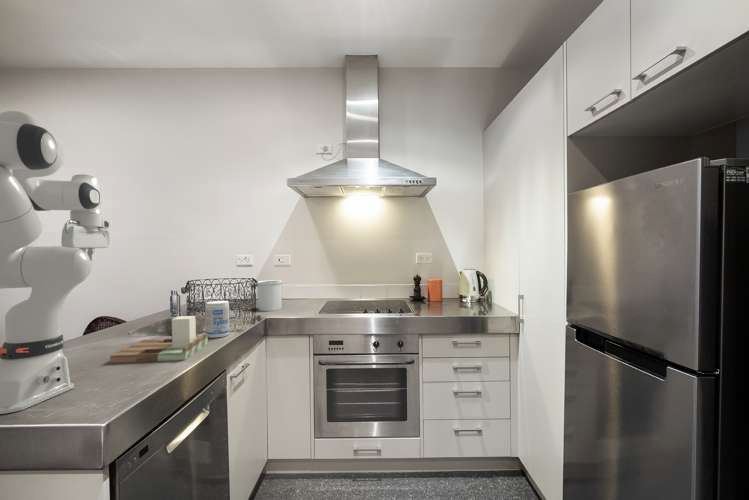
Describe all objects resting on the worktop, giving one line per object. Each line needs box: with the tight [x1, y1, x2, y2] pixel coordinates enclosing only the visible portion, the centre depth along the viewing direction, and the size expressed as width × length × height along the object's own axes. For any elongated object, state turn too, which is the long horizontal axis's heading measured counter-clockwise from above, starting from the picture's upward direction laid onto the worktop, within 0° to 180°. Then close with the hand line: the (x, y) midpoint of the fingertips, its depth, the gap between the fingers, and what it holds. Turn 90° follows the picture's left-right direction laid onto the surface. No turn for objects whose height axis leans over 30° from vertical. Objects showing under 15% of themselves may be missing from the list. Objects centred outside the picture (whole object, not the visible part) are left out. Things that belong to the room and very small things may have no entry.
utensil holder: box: [256, 279, 283, 312], centre depth 229 cm, size 15×15×18 cm
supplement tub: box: [204, 300, 230, 339], centre depth 161 cm, size 10×10×15 cm
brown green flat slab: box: [109, 332, 209, 364], centre depth 136 cm, size 22×24×4 cm
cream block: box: [171, 315, 197, 347], centre depth 137 cm, size 6×6×10 cm
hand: (87, 261), depth 131 cm, fingers closed
